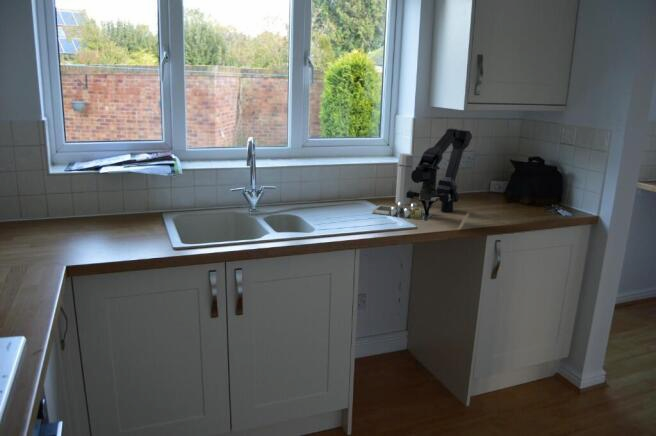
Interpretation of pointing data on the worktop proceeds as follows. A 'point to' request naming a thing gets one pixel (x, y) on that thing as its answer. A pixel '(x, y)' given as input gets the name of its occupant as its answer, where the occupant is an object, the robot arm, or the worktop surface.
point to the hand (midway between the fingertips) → (426, 214)
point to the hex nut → (416, 212)
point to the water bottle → (404, 178)
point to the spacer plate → (399, 211)
